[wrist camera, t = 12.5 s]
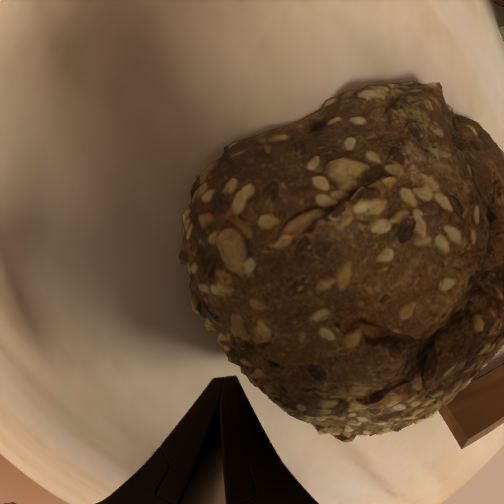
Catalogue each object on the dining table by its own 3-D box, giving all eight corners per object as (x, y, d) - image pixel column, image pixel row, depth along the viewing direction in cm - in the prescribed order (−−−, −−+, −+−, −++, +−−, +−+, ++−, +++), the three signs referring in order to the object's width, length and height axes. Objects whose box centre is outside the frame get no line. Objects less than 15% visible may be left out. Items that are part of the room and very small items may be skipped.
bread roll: (312, 426, 12) (330, 510, 7) (138, 209, 9) (41, 263, 4) (512, 289, 10) (571, 333, 5) (440, 45, 7) (527, 11, 2)
